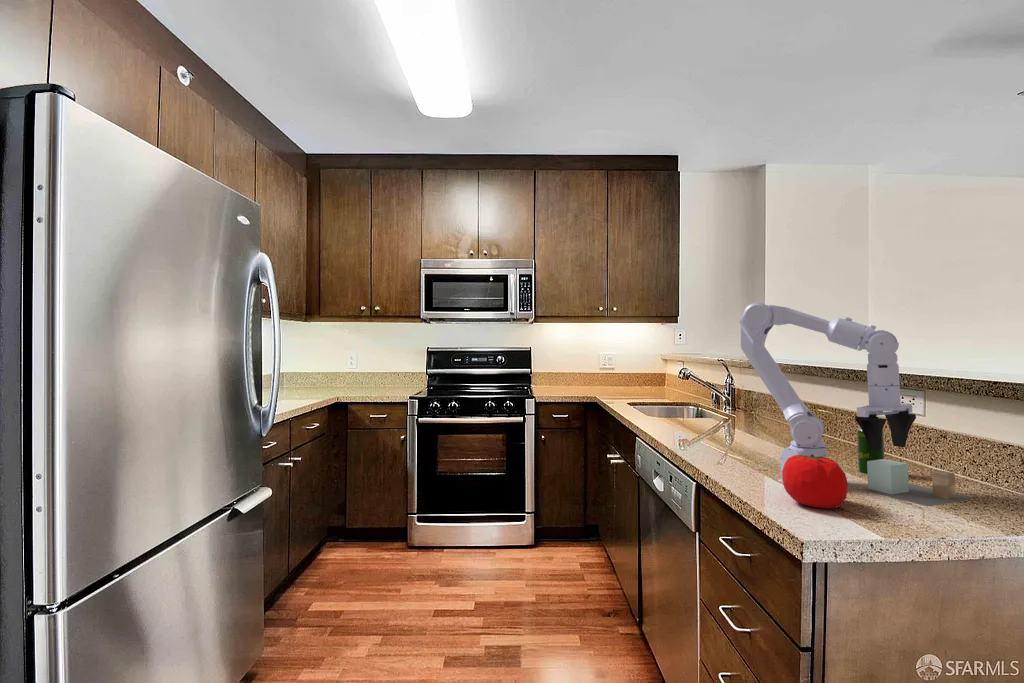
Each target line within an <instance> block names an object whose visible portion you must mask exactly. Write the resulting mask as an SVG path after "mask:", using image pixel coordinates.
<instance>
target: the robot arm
mask: <svg viewBox="0 0 1024 683" xmlns="http://www.w3.org/2000/svg"><path fill="white" fill-rule="evenodd" d="M852 320H853V318H851V317H847V316H846V317H845V319H844V318H843V317H839V318H835V319H833V320H827V319H824V318H821V317H818V316H814V315H812V314H809V313H805V312H802V311H799V310H797V309H796V310H795V309H793V308H790V307H786V306H785V307H784V306H780V305H773V304H765V303H763V302H752V303H750V304H749V305H747V306H746V307H745V308H744V310H743V313H742V315H741V317H740V319H739V325H740V348H741V350H742V352H743V353H744V355H745V357H746V358H747V360H748V361H749V362H750V365H751V366H752V367H753V369H754V370H755V371H756V373H757V375H758V377H759V378H760V379H761V381H762V383H763V384H764V385H765V387H766V388H767V390H768V392H769V393H770V394H771V396H772V398H773V399H774V400H775V401H776V402H775V403H776V404H777V405H778V407H779V408H780V410H781V412H783V416H784V418H785V419H784V420H786V422H787V424H788V426H789V428H790V435H791V438H792V440H791V441H790V445H789V447H784V449H783V450H782V451H781V453H780V457H779V458H780V459H779V460H780V462H779V463H780V464H779V465H780V479H778V480H777V482H780V483H783V480H782V470H783V467H784V464H785V462H786V461H787V459H788V458H790V457H792V456H794V455H807V456H810V455H811V454H813V455H814V456H815V457H819V456H823V457H825V458H827V443H825V442H824V441H823V440H822V437H823V435H824V433H825V424H824V422H823V420H822V419H821V418H820V417H819V416H816V415H815V414H813V413H812V412H811V411H810V409H809V408H808V406H807V405H806V404H804V402H803V401H802V399H801V397H800V396H799V395H798V394H797V392H796V390H795V389H794V387H793V385H791V383H790V381H789V380H788V378H786V376H785V375H784V373H783V371H782V370H781V369H780V367H779V365H778V364H777V362H776V361H775V359H774V358H773V357H772V355H771V354H770V352H769V351H768V349H767V348H766V346H765V343H766V340H767V336H768V333H769V332H770V331H771V329H772V328H773V327H774V325H775V326H784V325H793V326H797V327H799V328H800V327H801V328H804V329H807V330H811V331H813V332H818V333H821V334H824V335H825V336H826V338H827V340H828V342H830V343H833V344H835V345H839V346H842V347H846V348H849V349H853V350H856V351H857V352H858V351H863V350H865V351H866V352H867V364H866V374H867V375H866V376H867V390H868V391H867V392H868V393H867V395H868V405H865V406H860V407H856V415H855V416H854V420H855V422H856V423H857V425H859V426H860V428H861V429H862V431H863V433H864V436H865V438H866V441H867V444H868V447H869V449H871V450H877V451H879V450H881V445H882V431H883V432H884V426H885V424H886V422H887V423H888V427H889V430H890V437H891V443H892V445H893V447H899V448H905V447H906V444H907V440H908V435H909V432H910V429H911V427H912V425H913V424H914V422H915V421H916V419H917V415H916V414H915V413H913V404H912V403H905V402H903V403H902V402H901V387H900V385H901V384H900V369H899V363H898V360H899V359H898V355H897V351H898V349H899V348H900V343H899V342H898V339H897V337H896V336H895V335H894V334H893V333H892V332H890V331H887V330H884V329H879V330H878V329H877V326H876V325H874V324H871V325H870V326H869V325H865V324H862V323H858V322H856V321H852ZM876 329H877V330H876ZM879 416H884V417H885V418H879ZM824 455H826V456H824Z"/></svg>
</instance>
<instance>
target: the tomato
mask: <svg viewBox="0 0 1024 683" xmlns="http://www.w3.org/2000/svg"><path fill="white" fill-rule="evenodd" d="M824 456H826V458H825V457H823V456H819V457H815V456H814V455H813V454H811V455H810V456H807V455H794V456H792V457H790V458H788V459H787V461H786V462H785V464H784V467H783V470H782V480H783V482H782V484H783V488H784V490H785V492H786V493H787V495H789V497H791V499H792V500H794V501H795V502H797V503H798V504H802V505H805V506H807V507H813V508H819V509H825V510H826V509H835V508H838V507H839V506H841V505H842V504H843V503H844V501H845V500H846V499H847V496H848V495H847V494H848V489H849V488H848V487H849V485H848V484H849V483H848V480H847V479H848V478H847V476H846V473H845V471H844V470H843V469H842V468H841V466H840V465H839V464H838V462H836V461H834V460H833V459H831V458H829V457H827V454H826V455H824Z"/></svg>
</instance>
